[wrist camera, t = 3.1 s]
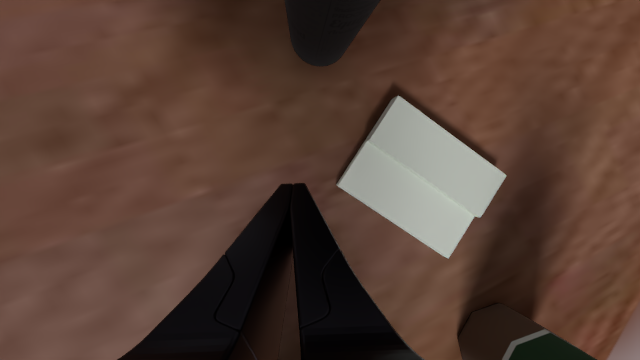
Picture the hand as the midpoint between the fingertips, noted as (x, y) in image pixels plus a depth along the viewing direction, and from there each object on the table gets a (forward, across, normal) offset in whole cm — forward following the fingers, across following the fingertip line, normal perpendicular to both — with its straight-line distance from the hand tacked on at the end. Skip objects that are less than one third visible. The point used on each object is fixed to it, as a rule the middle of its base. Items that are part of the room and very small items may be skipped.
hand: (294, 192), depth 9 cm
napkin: (+11, -10, +9) cm, 17 cm away
